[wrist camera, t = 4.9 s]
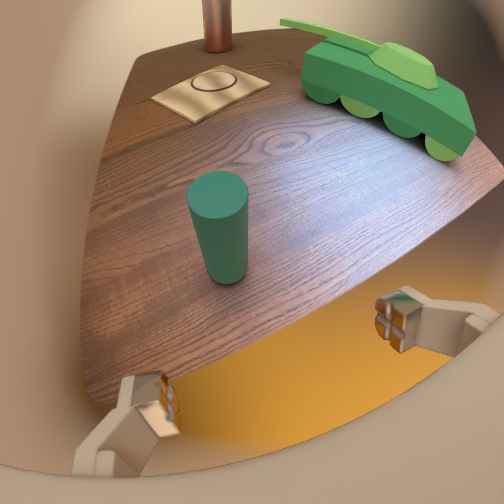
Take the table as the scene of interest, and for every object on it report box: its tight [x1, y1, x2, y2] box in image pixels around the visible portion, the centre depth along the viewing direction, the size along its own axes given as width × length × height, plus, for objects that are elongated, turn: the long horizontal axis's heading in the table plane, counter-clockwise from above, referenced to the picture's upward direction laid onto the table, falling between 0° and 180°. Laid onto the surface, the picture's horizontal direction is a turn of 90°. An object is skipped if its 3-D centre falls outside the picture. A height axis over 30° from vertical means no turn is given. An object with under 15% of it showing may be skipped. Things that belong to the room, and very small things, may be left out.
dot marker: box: [187, 171, 248, 284], centre depth 21 cm, size 4×4×11 cm
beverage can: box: [202, 0, 232, 53], centre depth 43 cm, size 6×6×15 cm
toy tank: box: [280, 18, 476, 161], centre depth 35 cm, size 18×12×35 cm
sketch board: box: [152, 65, 270, 124], centre depth 40 cm, size 16×12×1 cm
